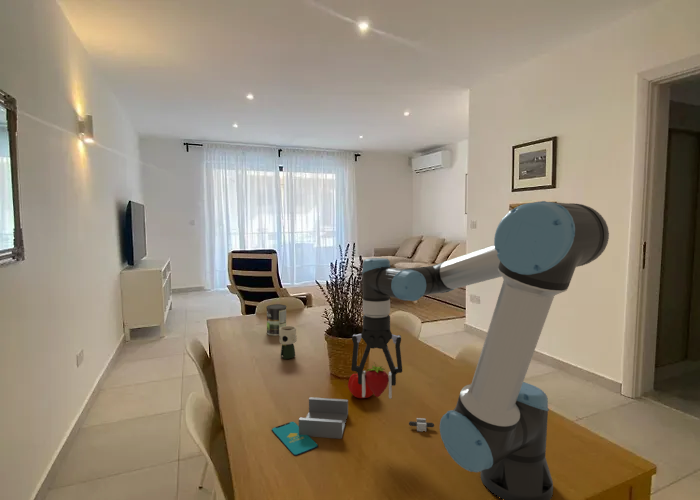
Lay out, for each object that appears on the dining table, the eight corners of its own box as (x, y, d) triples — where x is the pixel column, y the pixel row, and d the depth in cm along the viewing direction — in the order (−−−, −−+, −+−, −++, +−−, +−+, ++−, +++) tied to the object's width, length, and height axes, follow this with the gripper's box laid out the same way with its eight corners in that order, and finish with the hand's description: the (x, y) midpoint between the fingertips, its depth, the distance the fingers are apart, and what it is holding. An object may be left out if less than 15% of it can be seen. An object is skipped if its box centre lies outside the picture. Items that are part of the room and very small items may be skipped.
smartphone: (294, 455, 97) (270, 428, 110) (294, 458, 97) (270, 430, 110) (319, 445, 102) (293, 420, 114) (319, 448, 102) (293, 423, 114)
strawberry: (377, 404, 103) (376, 368, 102) (360, 394, 109) (360, 360, 108) (394, 398, 106) (393, 363, 105) (376, 389, 112) (376, 356, 112)
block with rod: (434, 432, 109) (434, 424, 108) (408, 430, 110) (408, 423, 109) (433, 426, 112) (433, 419, 112) (408, 424, 113) (408, 417, 113)
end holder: (341, 438, 105) (341, 422, 105) (298, 435, 107) (298, 419, 106) (347, 414, 119) (348, 399, 118) (309, 411, 120) (309, 397, 120)
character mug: (273, 356, 167) (273, 327, 166) (286, 352, 173) (286, 324, 171) (289, 363, 160) (289, 332, 159) (302, 358, 165) (302, 328, 164)
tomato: (377, 391, 134) (378, 370, 134) (372, 403, 126) (372, 380, 125) (351, 388, 137) (352, 367, 136) (344, 399, 128) (345, 377, 128)
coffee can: (269, 336, 195) (268, 309, 194) (264, 331, 204) (264, 305, 203) (289, 334, 199) (288, 307, 198) (283, 329, 209) (283, 303, 208)
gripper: (412, 311, 109) (412, 391, 110) (343, 310, 111) (344, 388, 112) (413, 318, 101) (413, 403, 103) (339, 316, 104) (340, 400, 105)
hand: (377, 395), depth 107 cm, fingers closed on strawberry, 7 cm apart
